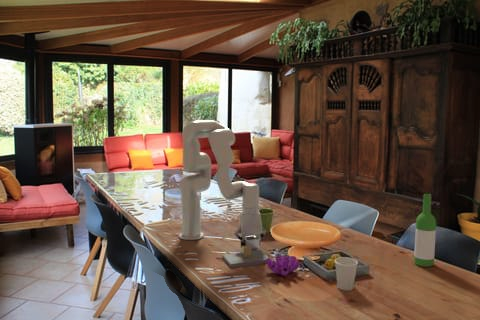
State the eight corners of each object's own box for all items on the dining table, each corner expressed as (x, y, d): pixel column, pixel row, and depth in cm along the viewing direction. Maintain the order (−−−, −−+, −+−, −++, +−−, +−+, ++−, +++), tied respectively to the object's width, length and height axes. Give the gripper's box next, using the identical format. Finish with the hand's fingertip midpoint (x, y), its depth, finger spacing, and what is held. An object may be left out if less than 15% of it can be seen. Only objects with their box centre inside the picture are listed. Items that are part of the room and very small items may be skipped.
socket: (241, 249, 200) (241, 236, 199) (254, 247, 202) (254, 235, 201) (246, 253, 194) (246, 240, 193) (259, 252, 196) (259, 239, 195)
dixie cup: (329, 287, 158) (329, 260, 157) (341, 280, 164) (342, 255, 162) (349, 294, 152) (350, 267, 151) (361, 287, 158) (362, 261, 157)
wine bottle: (434, 263, 182) (438, 193, 178) (432, 269, 175) (436, 197, 172) (415, 259, 186) (418, 191, 182) (412, 265, 179) (416, 195, 175)
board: (222, 258, 188) (222, 244, 187) (260, 253, 194) (260, 240, 193) (230, 267, 177) (230, 253, 176) (271, 262, 183) (271, 248, 182)
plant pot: (250, 234, 223) (250, 213, 222) (254, 227, 235) (254, 207, 233) (272, 235, 220) (272, 214, 219) (276, 229, 232) (276, 208, 230)
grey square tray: (302, 263, 182) (302, 255, 181) (342, 258, 188) (342, 250, 188) (326, 280, 164) (326, 272, 163) (369, 274, 170) (369, 265, 169)
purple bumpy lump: (267, 285, 168) (256, 262, 171) (292, 274, 178) (282, 253, 181) (284, 274, 160) (273, 251, 164) (309, 264, 170) (298, 242, 174)
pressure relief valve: (320, 268, 175) (333, 262, 182) (346, 281, 167) (359, 274, 174) (323, 256, 174) (336, 250, 181) (349, 268, 166) (361, 262, 173)
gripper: (265, 207, 202) (264, 244, 204) (230, 210, 196) (230, 248, 198) (271, 210, 195) (271, 249, 197) (235, 214, 189) (235, 253, 191)
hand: (250, 248), depth 197 cm, fingers closed on socket, 6 cm apart
